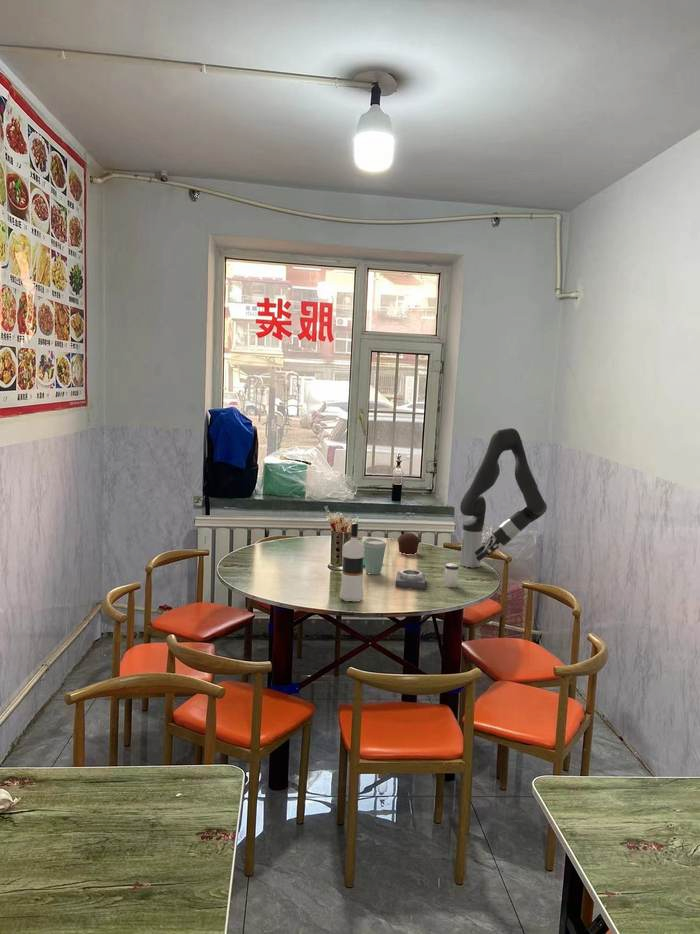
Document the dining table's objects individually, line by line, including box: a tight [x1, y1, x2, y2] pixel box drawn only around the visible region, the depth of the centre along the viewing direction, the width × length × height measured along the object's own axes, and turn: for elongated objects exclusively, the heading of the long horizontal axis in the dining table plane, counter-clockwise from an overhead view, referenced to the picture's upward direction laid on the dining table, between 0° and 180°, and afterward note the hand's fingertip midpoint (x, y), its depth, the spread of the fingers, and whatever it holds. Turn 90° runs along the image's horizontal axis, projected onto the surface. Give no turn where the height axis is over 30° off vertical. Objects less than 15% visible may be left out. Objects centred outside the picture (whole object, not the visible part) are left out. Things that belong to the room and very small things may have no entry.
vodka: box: [339, 522, 365, 601], centre depth 262 cm, size 9×9×30 cm
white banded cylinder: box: [443, 562, 460, 588], centre depth 288 cm, size 6×6×9 cm
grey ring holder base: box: [394, 568, 426, 591], centre depth 288 cm, size 14×12×5 cm
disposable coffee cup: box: [361, 537, 387, 575], centre depth 301 cm, size 11×11×15 cm
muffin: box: [396, 532, 421, 554], centre depth 341 cm, size 12×11×10 cm
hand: (476, 556), depth 286 cm, fingers open, 8 cm apart
